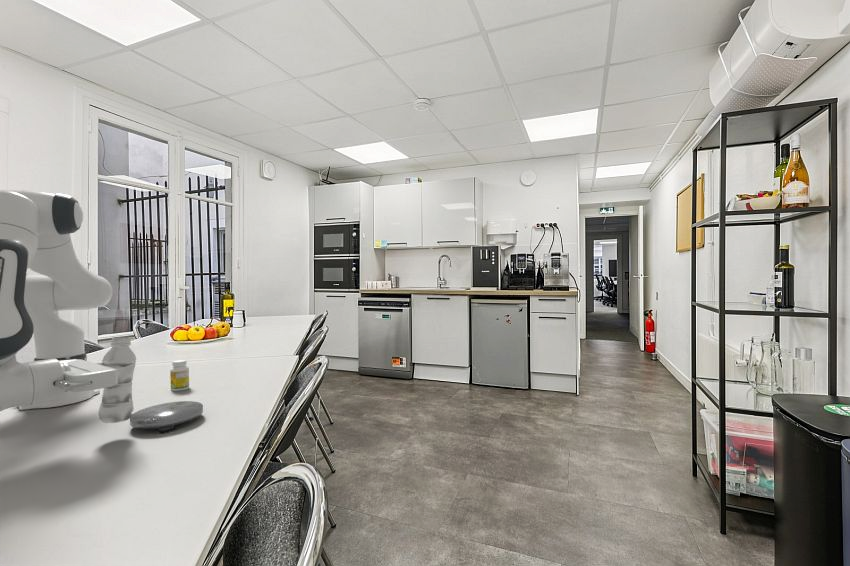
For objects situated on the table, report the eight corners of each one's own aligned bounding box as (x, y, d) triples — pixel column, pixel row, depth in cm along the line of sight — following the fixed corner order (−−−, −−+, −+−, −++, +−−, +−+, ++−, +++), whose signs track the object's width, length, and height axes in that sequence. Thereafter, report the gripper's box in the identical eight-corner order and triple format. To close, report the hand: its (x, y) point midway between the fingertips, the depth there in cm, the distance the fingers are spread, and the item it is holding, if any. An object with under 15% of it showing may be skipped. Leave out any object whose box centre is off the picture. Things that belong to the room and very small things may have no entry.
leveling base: (118, 426, 99) (117, 415, 99) (183, 408, 113) (183, 397, 113) (149, 440, 91) (149, 427, 91) (215, 418, 105) (215, 407, 105)
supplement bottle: (189, 389, 132) (189, 361, 132) (171, 392, 129) (170, 363, 129) (188, 385, 136) (188, 358, 136) (170, 388, 133) (169, 360, 133)
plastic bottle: (115, 427, 89) (121, 339, 90) (89, 424, 90) (96, 338, 91) (139, 418, 95) (145, 337, 96) (115, 416, 96) (121, 335, 97)
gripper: (64, 372, 76) (144, 358, 88) (29, 360, 87) (104, 349, 99) (65, 404, 77) (144, 386, 88) (29, 388, 87) (105, 374, 99)
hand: (123, 367), depth 94 cm, fingers closed on plastic bottle, 6 cm apart
